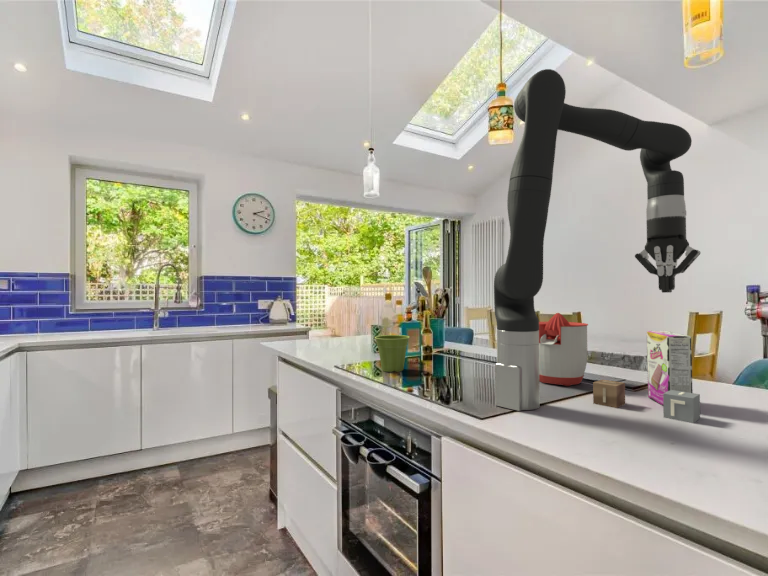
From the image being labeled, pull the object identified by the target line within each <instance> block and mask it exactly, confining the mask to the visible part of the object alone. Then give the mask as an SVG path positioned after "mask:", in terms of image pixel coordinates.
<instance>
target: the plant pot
mask: <svg viewBox="0 0 768 576" xmlns="http://www.w3.org/2000/svg"><path fill="white" fill-rule="evenodd" d="M410 338H411V337H410V336H409V335H403V334H401V335H400V334H389V335H388V334H386V335H378V336H374V339H375V340H376V345H377V348H378V354H379V360H380V361H379V362H380V367H381V370H382V371H383V372H387V373H392V372H396V373H398V372H402V371H404V367H405V361H406V355H407V354H406V353H407V347H408V343H409V339H410Z"/></svg>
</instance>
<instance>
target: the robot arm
mask: <svg viewBox="0 0 768 576" xmlns="http://www.w3.org/2000/svg"><path fill="white" fill-rule="evenodd" d="M566 89H567V88H566V84H565V81H564V78H563V77H562V75H561V74H560V73H558V71H557V70H554V69H551V68H547V69H546V68H545V69H542V70H539V71H537V72H536V73H534V74H533V75H532V76H531V77H530V78H528V80H527V81H526V83H525V84H524V85H523V86H522V88H521V89H520V91H519V92H518V93H517V95H516V97H515V99H514V104H513V109H514V113H515V115H516V116H517V118H518V119H519V120H520V121H522V122H524V128H523V134H522V137H521V140H520V143H519V147H518V150H517V152H516V155H515V158H514V161H513V163H512V168H511V171H510V174H509V180H508V181H509V183H508V189H507V190H508V191H507V200H506V202H507V207H506V208H507V215H508V216H507V217H508V223H509V233H510V235H509V245H508V251H507V255H506V260H505V263H504V264H502V265H500V267H499V268H498V269H497V271H495V272H496V273H495V274H494V280H493V298H494V299H493V300H494V316H495V317H494V318H495V320H496V359H497V360H496V363H495V364H494V366H495V367H494V372H495V373H494V375H495V376H494V379H495V381H494V383H495V384H494V386H495V389H494V391H495V393H494V394H495V396H494V397H495V398H494V399H495V403H494V405H495V406H497V407H502V408H505V409H510V410H514V411H518V412H521V411H529V410H532V411H533V410H536V409H539V408H540V406H541V405H540V404H541V403H540V402H541V400H540V399H541V398H540V397H541V396H540V393H541V392H540V387H541V386H540V381H539V322H540V320H539V317H538V316H537V314H536V309H535V296H536V295H538V294H539V292H540V290H541V288H542V285H543V282H544V243H545V242H544V241H545V233H546V228H547V223H548V215H549V208H550V207H549V206H550V201H551V195H552V187H553V186H552V185H553V176H554V174H553V173H554V165H555V164H554V163H555V156H556V148H557V145H556V144H557V137H558V131H562V132H567V133H571V134H575V135H579V136H584V137H587V138H589V139H594V140H595V141H599V142H601V143H604V144H607V145H609V146H612V147H614V148H616V149H617V148H618V149H620V150H623V151H629V152H630V151H635V150H638V149H640V152H639V160H640V161H639V162H640V165H641V168H642V172H643V175H644V177H645V180H646V181H645V182H646V183H647V185H646V186H647V188H646V190H647V191H646V192H647V196H646V197H647V203H646V212H645V213H646V217H645V218H646V243H645V245H644V249H643V250H642V251H640V252H639V253H635V254H634V258H635V259H636V260H637V261H638V263H640V264H641V265H642V267H644V269H646V271H648V273H649V274H651V275H655V276H657V278H658V289H659V291H661V292H662V293H672V292H673V291H674V290H675V288H676V282H675V281H676V279H675V278H676V275H679V274H683V273H685V272H686V270H687V269H688V268H689V267H690V266H691V265H692V264H693V263H694V262H695V261H696V260H697V258H698V257H699V256H700V255H701V251H700V250H699V249H695V248H694V247H692V246H690V243H689V241H688V240H687V208H686V200H685V181H684V178H685V177H684V175H683V173H682V172H681V171H679V170H675V169H673V170H672V167H671V166H672V165H671V162H672V161H673V160H677V159H678V158H680V157H682V156H684V155H685V154H686V153H687V152H688V151H689V150H690V148H691V146H692V136H691V134H690V133H689V131H687V130H686V129H685V128H683V127H682V126H679V125H678V124H677V125H676V124H674V123H667V122H659V121H652V120H643V119H641V118H638V117H635V116H633V115H630V114H627V113H625V112H622V111H619V110H614V109H608V108H598V107H597V108H596V107H595V108H593V107H582V106H577V105H576V106H575V105H571V104H568V103H565V99H566V92H567V90H566ZM683 254H684V256H685V257H684V258H683V260H682V261H681V262H680V263H679V264H678V260H679V259H680V258H681V257H682V256H683ZM649 256H650V257H651V258H652V260H654V262H655V265H653V263H652V262H651V261H650V260H649Z"/></svg>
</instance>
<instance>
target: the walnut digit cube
mask: <svg viewBox="0 0 768 576" xmlns="http://www.w3.org/2000/svg"><path fill="white" fill-rule="evenodd" d="M592 390H593V391H592V394H593V395H592V396H593V397H592V400H593V401H592V402H593V405H599V406H604V407H607V408H608V407H609V408H614V409H618V408H620V407H622V406H624V405H626V383H625V382H621V381H614V380H607V379H598V380H596V381H594V382H592Z"/></svg>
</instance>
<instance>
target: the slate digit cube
mask: <svg viewBox="0 0 768 576" xmlns="http://www.w3.org/2000/svg"><path fill="white" fill-rule="evenodd" d="M700 399H701V394H700V393H694V392H692V393H688V392H682V391H675V390H670V391H668V392H666V393H663V405H662V406H663V407H662V408H663V418H664V419H669V420H675V421H679V422H683V423H684V422H685V423H689V424H690V423H691V424H695V423H696V422H697V421H699V420H700V419H701V400H700Z"/></svg>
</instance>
